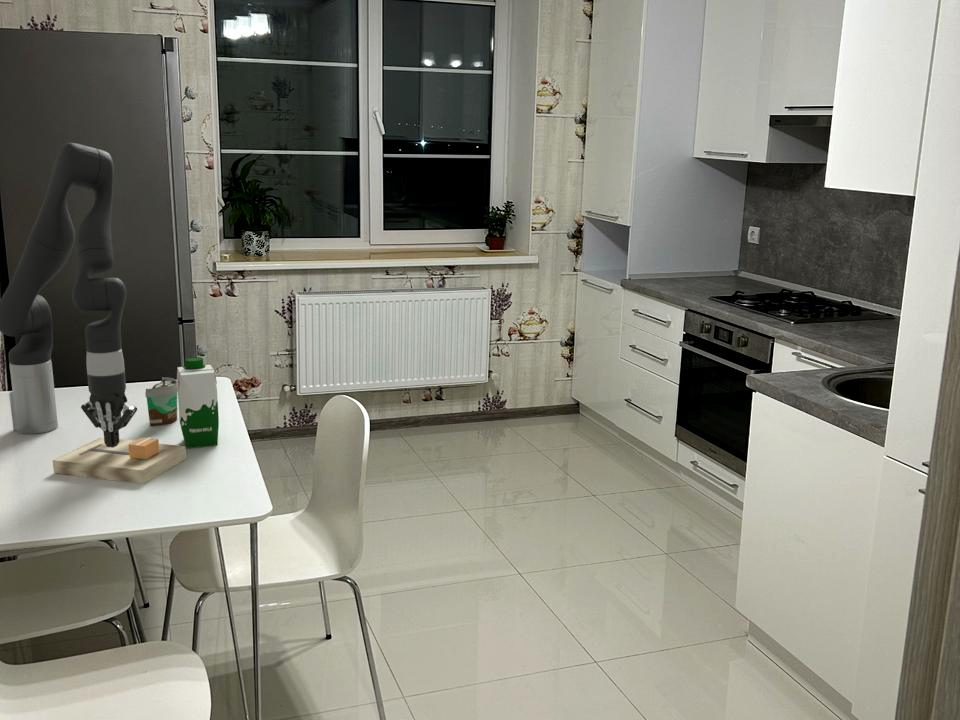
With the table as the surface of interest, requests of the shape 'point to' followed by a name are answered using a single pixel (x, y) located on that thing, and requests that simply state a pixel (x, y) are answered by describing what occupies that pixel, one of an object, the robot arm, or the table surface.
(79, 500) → the table surface
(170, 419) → the food container
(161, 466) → the fader console
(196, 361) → the milk carton
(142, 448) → the fader knob
